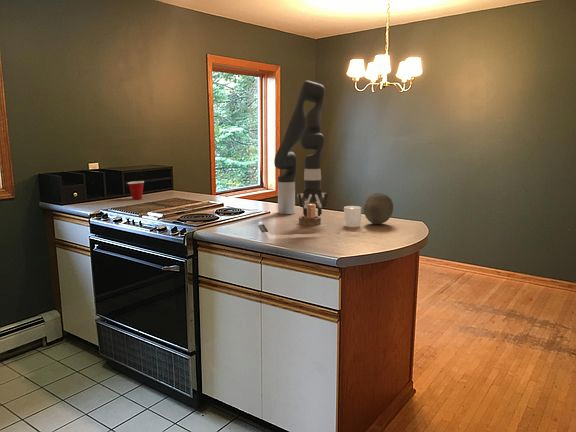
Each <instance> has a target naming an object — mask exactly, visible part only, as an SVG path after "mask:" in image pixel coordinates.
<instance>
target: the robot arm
mask: <svg viewBox="0 0 576 432" xmlns="http://www.w3.org/2000/svg"><path fill="white" fill-rule="evenodd" d="M325 91H326V90H325V86H324V85H323V84H321V83H318V82H314V81H311V80H305V81H303V84H302V86H301V88H300V90H299V94H298V98H297V100H296V104H295V107H294V110H293V112H292V114H291V115H292V116H291V118H290V120H289V123H288V125H287V127H286V131H285V134H284V137H283V139H282V141H281V143H280V145H279V147H278V149H277V151H276V153H275V155H274V159H273V160H274V167H275V168H276V169H278V170H285V171H284V173H283V174H281V175H279V176H278V177H277V214H280V215H292V214H295V213H296V208H295V207H296V199H295V198H296V196H297V203H298V206H299V207H300V208H302V214H303V215H302V216H305V217H307V208H306V207H307V205H308V204H310V203H311V202H316V203H315V204H317V205H316V206H317V216H319V217H321V216H322V214H323V213H322V212H323V211H322V209H323V207H326V205H327V202H328V201H327V200H328V193H327V192H323V191H322V173H321V172H322V171H321V170H322V169H321V158H322V153H323V149H324V145H325V142H326V139H325V136H324V134H323V133H320V132H321V127H322V126H321V123H322V120H321V119H322V118H321V117H322V112H323V106H324V100H325ZM305 102H309V103H313V104H315V105H314V106H313V107H312V108H311V109H310V110H309V111H308V112H307V114H306V112H305V106H304V105H305ZM299 142H300V145H301V148H302V149H303V150H306V151H307V150H314V151H315V150H316V151H315V152H314V153H312V154H308V155H306V156H305V157H304V172H303V192H302V193H297V194H296V177H297V155H296V153H294V151H291V150H292V149H293V148H294V147H295V146H296V145H297V144H298V143H299ZM303 196H304V198H305V200H304V203H303ZM321 197H322V202H321V201H320V198H321Z"/></svg>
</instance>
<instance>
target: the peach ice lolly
mask: <svg viewBox="0 0 576 432" xmlns="http://www.w3.org/2000/svg"><path fill="white" fill-rule="evenodd" d="M316 204H317V203H308V205H307V207H306V208H307V217H305V216H304V215H303V216H304V218H305V219H316V216H317V213H316V211H317V207H316V206H317V205H316Z"/></svg>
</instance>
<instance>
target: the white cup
mask: <svg viewBox="0 0 576 432" xmlns="http://www.w3.org/2000/svg"><path fill="white" fill-rule="evenodd" d="M343 220H344V221H343V222H344V227H346V228H347V227H348V228H358V227H360V226H361V221H362V207H361V206H359V205H358V206H357V205H346V206H344V207H343Z"/></svg>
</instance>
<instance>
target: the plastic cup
mask: <svg viewBox="0 0 576 432" xmlns="http://www.w3.org/2000/svg"><path fill="white" fill-rule="evenodd" d="M127 185H128V188H129V191H130V194H131V199H132V200H134V201H136V200H137V201H138V200H139V201H140V200H142V199H143V191H144V185H145V181H144V180H137V181H129V182H127Z"/></svg>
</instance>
